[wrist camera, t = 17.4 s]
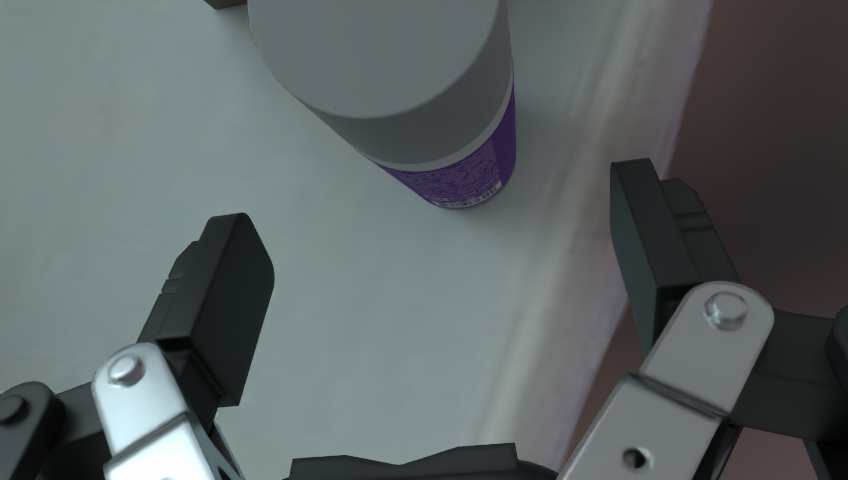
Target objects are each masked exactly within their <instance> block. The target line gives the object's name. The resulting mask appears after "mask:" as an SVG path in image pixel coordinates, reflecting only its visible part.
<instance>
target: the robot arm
mask: <svg viewBox="0 0 848 480" xmlns="http://www.w3.org/2000/svg"><path fill="white" fill-rule="evenodd" d="M610 229H611V237H612V242H613V247H614V250H615V254H616V257H617V261H618V264H619V267H620V271H621V274H622V277H623V281H624V284H625V288H626V291H627V294H628V298H629V301H630V304H631V308H632V311H633V315H634V318H635V321H636V325H637V328H638V331H639V335H640V338H641V342H642V345H643V348H644V352H645V355H646V359H645V361H644V362H643V364H642V365H641V367H640V369H639V370H638V372H637V373H635V374H632V373H630V372H628V373H626V374H625V375H624V376H623V377H622V378H621V379H620V380H619V382H618V383H617V385H616V386H615V388H614V389H613V391H612V392H611V394H610V395H609V397H608V399H607V400H606V402H605V403H604V405H603V406H602V408H601V410H600V411H599V413H598V414H597V416H596V417H595V419H594V421H593V422H592V424H591V425H590V427H589V428H588V430H587V432H586V433H585V435H584V436H583V438H582V440H581V441H580V443H579V444H578V446H577V447H576V449H575V451H574V452H573V454H572V455H571V457H570V458H569V460H568V461H567V463H566V465H565V466H564V468H563V469H562V471H561V472H560V474H559V473H557V472H555V471H553V470H551V469H549V468H546V467H544V466H541V465H538V464H535V463H532V462H528V461H523V460H518V458H517V453H516V447H515V443H503V444H489V445H476V446H462V447H456V448H453V449H449V450H446V451H443V452H440V453H437V454H434V455H431V456H428V457H425V458H422V459H418V460H415V461H412V462H409V463H406V464H402V465H395V464H389V463H384V462H379V461H374V460H368V459H363V458H358V457H353V456H348V455H338V456H324V457H311V458H297V459H293V461H292V465H291V470H290V475H289V477H288V478H285V479H282V480H719V478H720V476H721V474H722V472H723V469H724V467H725V465H726V463H727V461H728V459H729V457H730V455H731V452H732V450H733V448H734V446H735V444H736V442H737V440H738V438H739V435H740V433H741V431H742V429H743V427H748V428H753V429H758V430H762V431H767V432H772V433H777V434H782V435H787V436H791V437H796V438H801V439H802V440H803V443H804V445H805V448H806V450H807V453H808V455H809V458H810V460H811V463H812V465H813V468H814V470H815V473H816V475H817V478H818V480H848V305H847V306H845V307H844V308H842V309H841V310H840V311H839V312H838V313H837V315H836V317H835V319H830V318H823V317H816V316H809V315H802V314H795V313H790V312H785V311H782V310H779V309H776V308H774V307H771V306H770V304H769V303H768V301H767V300H766V299H765V298H764V297H763V296H762V295H761V294H759V293H758V292H756V291H755V290H753V289H751V288H749V287H747V286H744V285H743V283H742V282H741V280H740V278H739V275H738V273H737V271H736V269H735V268H734V266H733V263H732V261H731V259H730V257H729V255H728V253H727V251H726V249H725V247H724V245H723V243H722V241H721V239H720V237H719V235H718V233H717V231H716V229H714V227H713V223H712V221H711V219H710V217H709V215H708V214H707V213H706V209H705V207H704V205H703V203H702V201H701V199H700V197H699V195H698V193H697V192H696V191H695V190H693V189H692V188H691V187H689V186H688V185H687V184H685V183H684V182H683V181H682V180H680V179H679V178H677V179H669V180H662V181H660V180H659V178H658V175H657V173H656V171H655V168H654V166H653V164H652V162H651V160H650V158H641V159H634V160H627V161H619V162H612V163H611V167H610ZM168 277H169V279H166V282H165V284H164V286H163V288H162V290H161V291H162V294H159V296H158V298H157V300H156V302H155V304H154V307H153V309H152V311H151V313H150V315H149V317H148V319H147V321H146V323H145V325H144V327H143V329H142V331H141V334H140V336H139V338H138V340H137V342H136V343H135V344H132V345H129V346H126V347H124V348H122V349H120V350H118V351H117V352H115V353H114V354H112V355H111V356H110V357H109V358H107V359H106V360H105V361H104V362H103V363H102V365H101V366H100V367H99V368H98V370H97V371H96V373H95V375H94V377H93V380H92V381H91V382H88V383H85V384H83V385H80V386H77V387H75V388H72V389H69V390H67V391H64V392H61V393H59V394H55V393H54V392H53V391H52V390H51V389H50V388H49V387H48V386H47V385H45V384H44V383H41V382H36V381H33V382H26V383H22V384H19V385H17V386H15V387H12V388H10V389H9V390H7V391H5V392H4V393H2V394H1V395H0V480H246V479H245V477H244V475H243V473H242V471H241V469H240V467H239V465H238V463H237V461H236V459H235V457H234V455H233V453H232V451H231V449H230V447H229V445H228V443H227V441H226V439H225V437H224V436H223V434H222V432H221V430H220V428H219V426H218V425H217V423H216V422H215V420H214V418H215V415H216V412H217V409H218V408H219V407H230V406H239V403H240V399H241V396H242V393H243V389H244V386H245V383H246V379H247V376H248V372H249V369H250V366H251V362H252V359H253V355H254V352H255V349H256V345H257V342H258V338H259V335H260V332H261V328H262V325H263V321H264V318H265V315H266V311H267V308H268V305H269V301H270V298H271V294H272V291H273V287H274V279H275V278H274V268H273V264H272V261H271V259H270V257H269V255H268V253H267V251H266V249H265V247H264V245H263V243H262V241H261V239H260V237H259V235H258V233H257V231H256V229H255V227H254V225H253V223H252V221H251V219H250V217H249V216H248V215H247V214H246V213H236V214H229V215H222V216H214V217H211V218H210V219H209V220H208V222H207V224H206V226H205V228H204V231H203V233H202V235H201V237H200V239H199V241H193V242H192V243H191V244H190V245H189V246H188V247H187V248H186V249H185V250H184V251H183V252H182V253H181V254H180V255H179V256H178V257H177V259H176V261H175V263H174V265H173V267H172V269H171V271H170V273H169V275H168Z"/></svg>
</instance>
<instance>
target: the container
mask: <svg viewBox="0 0 848 480" xmlns="http://www.w3.org/2000/svg"><path fill="white" fill-rule="evenodd" d="M248 16H249V22H250V28H251V32H252V36H253V39H254V42H255V45H256V47H257V50H258V52H259V54H260V56H261V58H262V60H263V62H264V63H265V65H266V67H267V68H268V69H269V71H270V72H271V74H272V75H273V76H274V77H275V79H276V80H277V81H278V82H279V83H280V84H281V85H282V86H283V87H284V88H285V89H286V90H287V91H288V92H289V93H291V94H292V95H293V96H294V97H295V98H296V99H298V100H299V101H300V102H301V103H302V104H304V105H305V106H306V107H307V108H308V109H309V110H311V111H312V112H313V113H314V114H315V115H316V116H318V117H319V118H320V119H321V120H322V121H323V122H325V123H326V124H327V125H328V126H329V127H331V128H332V129H333V130H334V131H335V132H336V133H338V134H339V135H340V136H341V137H342V138H343V139H345V140H346V141H347V142H348V143H349V144H351V145H352V146H353V147H354V148H355V149H356V150H357V151H358V152H359V153H361V154H362V155H363V156H365V157H366V158H368V159H369V160H370V161H372V162H373V163H375V164H376V165H377V166H379V167H380V168H382V169H383V170H384V171H386V172H387V173H389V174H390V175H391V176H393V177H394V178H396V179H397V180H398V181H400V182H401V183H403V184H404V185H405V186H407V187H408V188H410V189H411V190H412V191H414V192H415V193H417V194H418V195H419V196H421V197H422V198H424V199H425V200H427V201H428V202H430V203H432V204H434V205H436V206H439V207H441V208H445V209H450V210H465V209H471V208H475V207H478V206H480V205H482V204H485V203H486V202H488V201H490V200H491V199H493V198H494V197H495V196H496V195H497V194H498V193H499V192H500V191H501V190H502V189H503V188H504V187H505V185H506V184H507V182H508V181H509V179H510V177H511V175H512V172H513V169H514V165H515V160H516V129H515V99H514V69H513V60H512V54H511V45H510V37H509V28H508V20H507V12H506V3H505V0H248Z"/></svg>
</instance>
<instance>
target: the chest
mask: <svg viewBox="0 0 848 480" xmlns="http://www.w3.org/2000/svg"><path fill="white" fill-rule="evenodd" d="M204 1H205V2H207V3H208V4H209V5H210V6H211V7H212V8H214V9H218V8H223V7H229V6H234V5H239V4H244V3H248V0H204Z"/></svg>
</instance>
